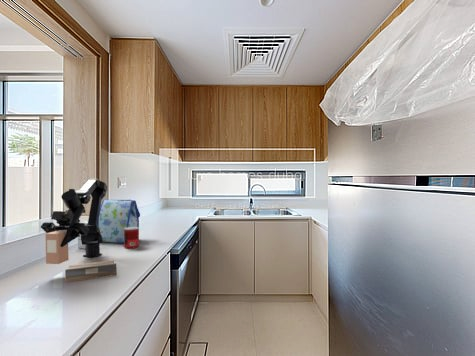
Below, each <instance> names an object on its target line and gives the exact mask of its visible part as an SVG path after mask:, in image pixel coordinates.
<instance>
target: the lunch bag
mask: <svg viewBox="0 0 475 356" xmlns="http://www.w3.org/2000/svg"><path fill="white" fill-rule="evenodd" d="M140 217H141V213H140V210H139V207H138V204H137V202H136V200H132V199H102V201H101V206H100V213H99V219H98V227H99V229H100V233H101V235H102V238H103V242H104V243H121V244H124V228H127V227H139V228H140Z"/></svg>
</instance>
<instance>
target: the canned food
mask: <svg viewBox="0 0 475 356" xmlns="http://www.w3.org/2000/svg"><path fill="white" fill-rule="evenodd" d="M139 237H140V226H139V227H127V228H124V243H123V244H124V245H123V247H124V249H136V248H138V247H139V246H140V238H139Z"/></svg>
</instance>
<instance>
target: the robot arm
mask: <svg viewBox="0 0 475 356" xmlns="http://www.w3.org/2000/svg"><path fill="white" fill-rule="evenodd" d="M107 191H108V185H107V184H106V182H104V181H102V180H100V179H98V178H88V179H87V182H86V183H84V184H83V186H82V187H81V188H80V189H76V190H75V188H69V189H68V190H67V191H65V192H63V193H62V194H61V200H62V201H63V203H64V205H65V207H66V208H67V210H65V211H61V210H59V211H57V210H53V211H52V214H51V218H50V220H53V221H56V223H57V225H56V224H55V223H54V222H51V221H49V222H48V221H46V222H43V223H42V224H41V225H40V228H41V229H42V231H44V232H45V234H46V233H50V232H54V231H67V234H66V235H65V237H64V239H63V241H62V243H61V245H60V246H61V247H63V246H65V245H66V244H68V245H69V244H70V242H72V241H74V240H75V239H78V237H80V235H81V242H82V245H85V248H84V249H85V254H83V255H82V257H86V258H94V257H98V256H101V255H103V253H101V247H100V244H103V238H102V235H101V233H100V229H99V227H98V219H99V213H100V207H101V204H102V201H103V200H104V197H106V194H107ZM90 201H91V203H90V208H89V214H88V218H87V219H88V220H87V221H88V224H87V225H85V224H84V223H80V222H81V220H80V218H81V217H82V215H83V214H85V213H86V207H85V205H87V204H89V202H90ZM79 234H80V235H79Z"/></svg>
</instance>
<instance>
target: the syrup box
mask: <svg viewBox="0 0 475 356" xmlns="http://www.w3.org/2000/svg"><path fill="white" fill-rule="evenodd" d="M79 223H84V224H85V225H87V224H88V220H86V221H80V222H79ZM79 235H80V234H79ZM77 248H78V249H85V245H82V242H81V235H80V237H77Z"/></svg>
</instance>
